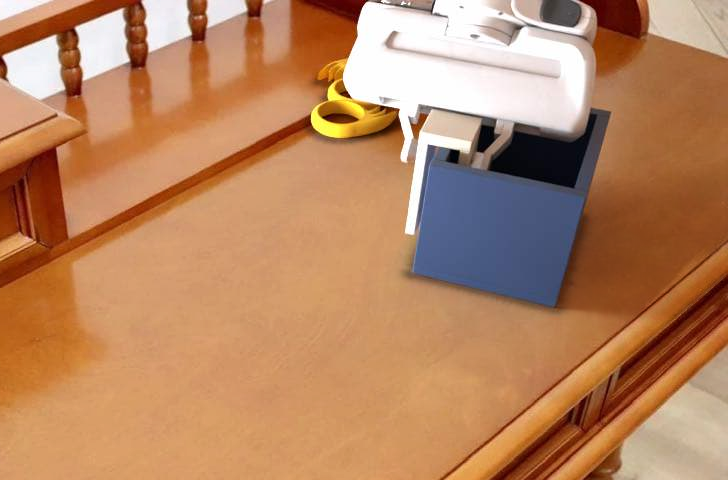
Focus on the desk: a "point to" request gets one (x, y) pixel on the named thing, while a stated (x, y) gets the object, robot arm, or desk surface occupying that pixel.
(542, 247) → the bin
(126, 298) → the desk surface
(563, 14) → the robot arm
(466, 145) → the clip
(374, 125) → the yellow winged triple ring
